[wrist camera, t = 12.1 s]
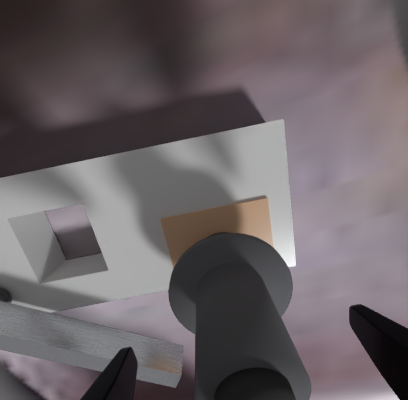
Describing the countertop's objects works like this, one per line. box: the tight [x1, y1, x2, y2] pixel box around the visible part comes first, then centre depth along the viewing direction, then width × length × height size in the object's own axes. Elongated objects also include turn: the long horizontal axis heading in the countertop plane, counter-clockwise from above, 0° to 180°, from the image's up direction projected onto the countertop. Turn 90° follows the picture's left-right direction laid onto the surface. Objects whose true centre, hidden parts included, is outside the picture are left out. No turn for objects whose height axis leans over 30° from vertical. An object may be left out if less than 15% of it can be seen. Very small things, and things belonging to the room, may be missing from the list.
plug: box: [168, 232, 311, 400], centre depth 10 cm, size 6×6×9 cm
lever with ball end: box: [0, 287, 183, 388], centre depth 14 cm, size 2×14×3 cm, turn 70°
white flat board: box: [0, 119, 296, 313], centre depth 15 cm, size 12×26×3 cm, turn 101°
